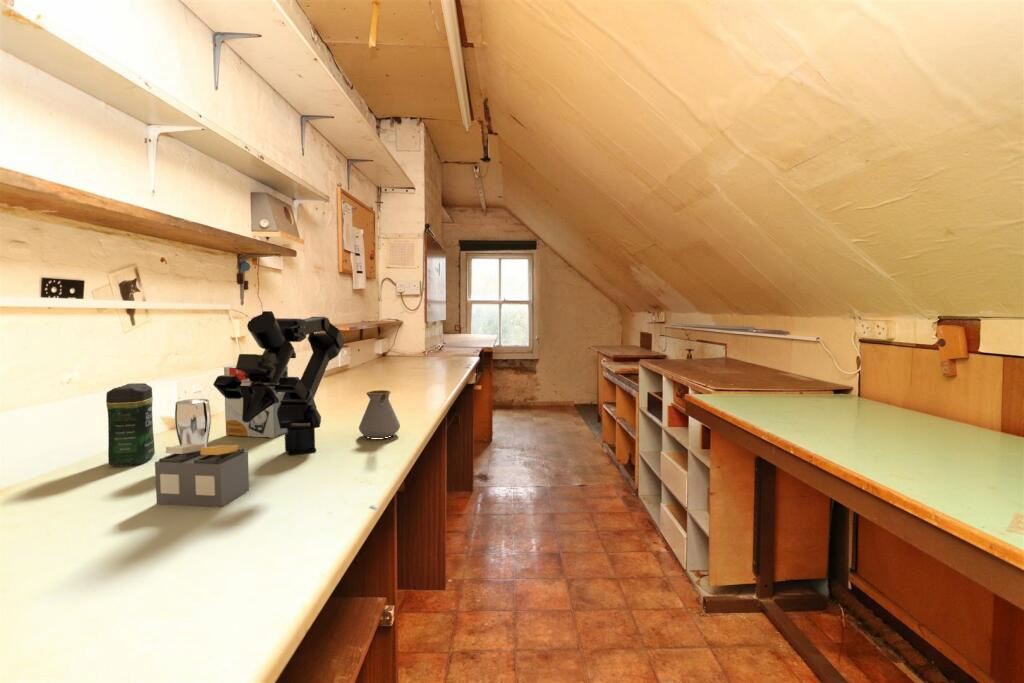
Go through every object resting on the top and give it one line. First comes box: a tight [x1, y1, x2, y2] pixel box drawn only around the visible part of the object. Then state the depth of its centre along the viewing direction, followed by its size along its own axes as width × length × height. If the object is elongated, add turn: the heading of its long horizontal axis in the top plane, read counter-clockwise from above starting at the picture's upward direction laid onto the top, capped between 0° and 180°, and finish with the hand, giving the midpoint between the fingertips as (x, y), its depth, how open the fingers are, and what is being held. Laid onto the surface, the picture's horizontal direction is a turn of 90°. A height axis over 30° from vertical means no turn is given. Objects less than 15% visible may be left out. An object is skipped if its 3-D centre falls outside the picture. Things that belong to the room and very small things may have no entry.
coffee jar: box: [105, 382, 156, 467], centre depth 115 cm, size 10×8×19 cm
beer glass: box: [174, 398, 212, 447], centre depth 113 cm, size 7×7×15 cm
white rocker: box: [165, 444, 205, 455], centre depth 94 cm, size 6×3×1 cm, turn 175°
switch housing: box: [154, 448, 250, 508], centre depth 94 cm, size 8×13×8 cm, turn 85°
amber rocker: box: [201, 444, 239, 455], centre depth 93 cm, size 6×3×1 cm, turn 175°
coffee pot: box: [358, 389, 401, 438], centre depth 134 cm, size 21×12×15 cm, turn 20°
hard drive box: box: [223, 364, 289, 439], centre depth 140 cm, size 16×8×20 cm, turn 80°
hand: (245, 421), depth 101 cm, fingers closed
